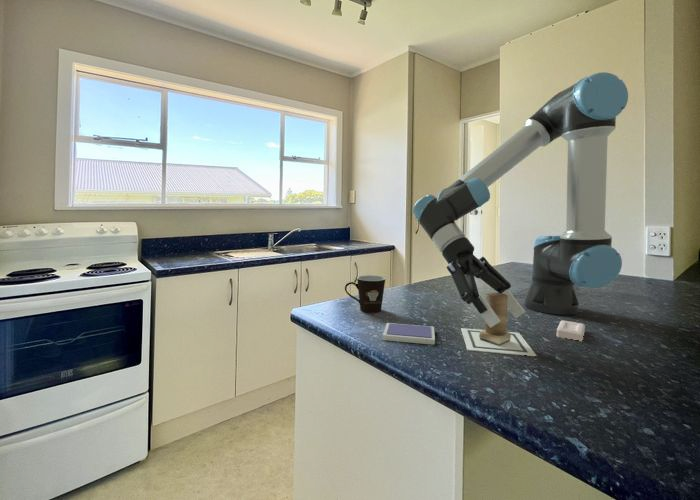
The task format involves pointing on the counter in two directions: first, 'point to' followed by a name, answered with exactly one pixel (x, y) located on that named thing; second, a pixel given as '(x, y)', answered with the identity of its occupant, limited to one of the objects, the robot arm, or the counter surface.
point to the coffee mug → (369, 292)
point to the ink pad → (409, 333)
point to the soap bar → (571, 330)
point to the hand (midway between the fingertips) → (508, 319)
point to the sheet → (512, 347)
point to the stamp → (498, 331)
